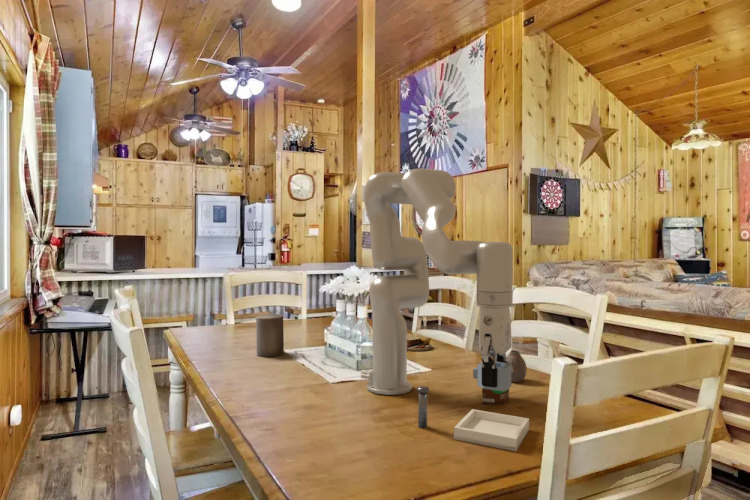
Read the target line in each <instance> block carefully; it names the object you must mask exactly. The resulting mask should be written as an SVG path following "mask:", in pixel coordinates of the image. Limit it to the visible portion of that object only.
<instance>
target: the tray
mask: <svg viewBox="0 0 750 500" xmlns="http://www.w3.org/2000/svg"><path fill="white" fill-rule="evenodd" d="M529 430H530V418H528V417H522V416H515V415H509V414H502V413H498V412H492V411H485V410H480V409H474V408H471V410H470V411H469V412H468V413H467V414H466V415H465V416H464V417H463V418H461V420H460V421H459V422H458V423H457V424H456V425H455V426H454V427H453V440H456V441H462V442H465V443H466V442H467V443H471V444H477V445H480V446H481V445H482V446H487V447H491V448H497V449H502V450H506V451H512V452H517V451H518V450H519V448H520V446H521V444H522V443H523V441H524V439H525V437H526V435H527V434H528V432H529Z"/></svg>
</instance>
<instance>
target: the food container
mask: <svg viewBox="0 0 750 500" xmlns="http://www.w3.org/2000/svg"><path fill="white" fill-rule="evenodd" d="M505 361H506V363H507V364H510V365H511V373H513V366H512V364H511V362H510V361H509V360H507V359H506V360H505ZM481 392H482V396H481V399H482V403H481V404H482V405H487V406H501V405H506V404H508V402H509V398H510V397H509V396H510V388H509V389H506V390H490V389H483V388H482V387H481Z"/></svg>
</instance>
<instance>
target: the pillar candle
mask: <svg viewBox="0 0 750 500" xmlns="http://www.w3.org/2000/svg"><path fill="white" fill-rule="evenodd" d="M255 319H256V320H255V321H256V322H255V324H256V327H255V329H256V332H255V333H256V339H255V340H256V342H255V343H256V355H257V356H258V357H262V358H263V357H264V358H266V357H267V358H270V357H278V356H282V355H284V353H285V351H284V346H285V343H284V340H285V339H284V315H282V314H280V313H279V314H278V313H277V314H276V313H274V314H273V313H267V314H260V315H257V316H255Z"/></svg>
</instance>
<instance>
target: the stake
mask: <svg viewBox="0 0 750 500" xmlns="http://www.w3.org/2000/svg"><path fill="white" fill-rule="evenodd" d="M416 391H417V393H418V396H417V397H418V406H417V408H418V409H417V412H418V413H417V415H418V416H417V422H418V423H417V427H418V428H420V429H427V428H428V393H429V391H430V388H429V387H428V386H425V385H419V386H417V388H416Z"/></svg>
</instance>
